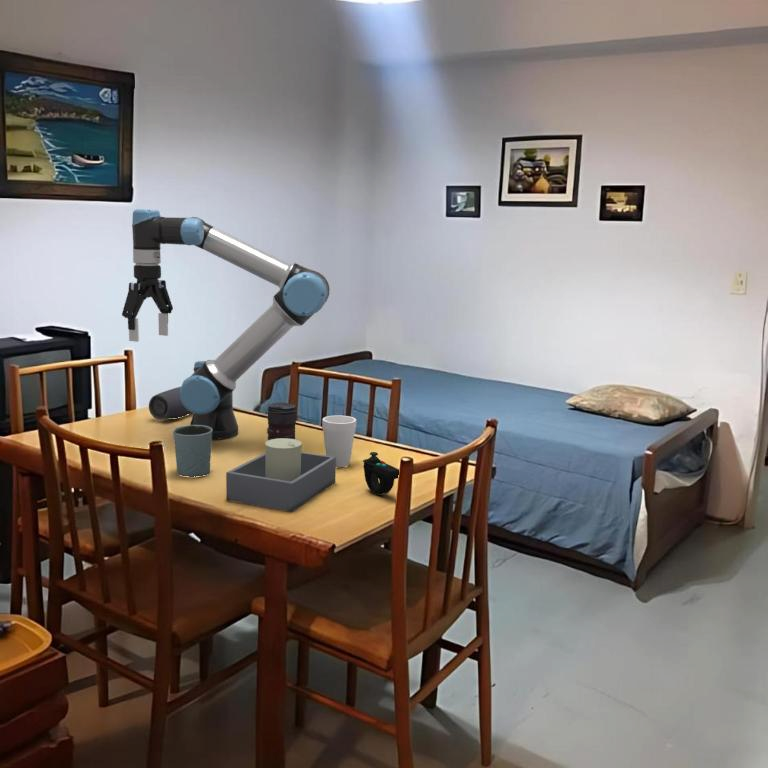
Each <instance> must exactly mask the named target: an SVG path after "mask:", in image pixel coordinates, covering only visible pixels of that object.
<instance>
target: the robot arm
mask: <svg viewBox="0 0 768 768" xmlns="http://www.w3.org/2000/svg"><path fill="white" fill-rule="evenodd" d="M160 213H161V212H160V210H159V209H146V208H145V209H141V208H140V209H139V208H137V209H134V210H133V211H132V224H131V227H132V259H133V260H132V261H133V262H132V263H134V265H133V277H134V279H136V282H129V283H128V292H127V295H126V298H125V302H124V306H123V308H122V313H121V315H122V317H124V318H125V319H127V329H128V341H130V342H135V343H136V342H137V343H138V342H139V341H140V338H139V337H140V335H139V318H137V316H138V313H140V310H141V307H142V306H143V304H144V302H145V300H147V298H148V299H149V298H152V300H153V302H154V303H155V305H156V307H157V309H158V310H159V312H160V313H158V316H157V317H158V335H159V336H165V337H168V336H169V314H172V311H173V309H174V307H173V304H172V301H171V298H170V295H169V292H168V288H167V283H166V280H164V279H161V278H162V266H161V265H160V264H161V262H162V261H161V260H162V259H161V244H162V245H180V246H181V245H183V246H185V245H186V246H195V247H197V248H199V249H201V250H204V251H206V252H208V253H210V254H211V255H214V256H217V257H218V258H220V259H222V260H224V261H226V262H228V263H230V264H232V265H234V266H236V267H238V268H239V269H243V270H244V271H246V272H247V273H249V274H250V273H251V274H252V275H254V276H256V277H258V278H260V279H262V280H263V281H266V282H268V283H270V284H273V285H275V286H277V287H278V288H279V290H278V291H277V292H276V293H275V294H274V295H273V296H272V300H273V301H272V305H270V306H269V307H268V308H267V309H266V310H265V311H264V312H263V313H262V314H261V315H260V316H259V317H257V319H256V320H255V321H254V322H253V323H252V324H251V325H250V326H249V327H247V329H245V330H244V332H242V334H240V335H239V336H238V337H237V338H236V339H235V340H234V341H233V342H232V343H231V344H230V345H228V347H227V348H226V349H225V350H224V351H223V352H221V353H220V355H219V356H218V357H216V358H215V359H207V360H202V361H201V360H199V361H195V362H194V364H193V365H194V366H193V373H192V374H191V375H190V376H188V377H187V378H186V379H184V380H183V381H182V384H181V386H180V387H181V388H180V399H181V402H182V404H183V405H184V407H185V408H186V409H187V410H189V411H190V412H192V417H191V421H190V424H189V425H204V426H208V427H211V428H212V440H213V439H215V440H223V439H224V440H225V439H229V438H230V439H231V438H234V437H236V436H238V435H239V424H238V422H237V418H236V416H235V413H234V408H233V404H234V401H233V397H234V396H233V395H234V394H233V392H234V391H235V390H236V388H237V383H236V382H237V381H238V380H239V379H240V378H241V377H242V376H243V375H244V374H246V372H247V371H249V369H250V368H251V367H252V366H253V365H254V364H256V362H257V361H259V360H260V358H262V357H263V356H264V355H265V354H266V353H268V351H270V349H271V348H272V347H274V345H276V344H277V343H278V342H279V341H280V340H281V339H282V338H283V337H284V336H285V335H286V334H287V333H289V331H290V330H291V329H292V328H293V327H302V326H303V325H304V324H306V322H307V321H308V320H309V319H311V317H313V316H314V315H315V314H317V313H318V312H319V311H321V309H322V308H323V307H324V306H325V304H326V303H327V301H328V299H329V295H330V284H329V281H328V280H327V278H326V277H325V276H324V275H323V274H321V272H318V271H315V270H313V269H311V268H307V267H304V266H303V265H300V264H298V263H296V262H292V263H288V262H286V261H284V260H283V259H280V258H278V257H276V256H273V254H269V253H268V252H266V251H264V250H262V249H260V248H258V247H255V246H253V244H250V243H247V242H245V241H244V240H241V239H239V238H237V237H236V236H234V235H232V234H229V233H227V232H225V231H224V230H221V229H219V228H218V227H215V226H212V225H211V224H209V223H207V222H206V221H205V220H203V219H201V218H199V217H197V216H195V217H194V216H192V217H170V216H169V217H165V216H161V214H160ZM213 441H214V440H213Z"/></svg>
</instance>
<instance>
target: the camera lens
mask: <svg viewBox="0 0 768 768" xmlns="http://www.w3.org/2000/svg"><path fill="white" fill-rule="evenodd" d="M296 422H297V406H296V405H295V404H293V403H290V402H273V403H270V404H269V405H268V409H267V425H268V427H267V430H266V433H267V441H268V440H272V439H278V438H288V439H295V440H296Z"/></svg>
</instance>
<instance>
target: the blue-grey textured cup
mask: <svg viewBox="0 0 768 768" xmlns="http://www.w3.org/2000/svg"><path fill="white" fill-rule="evenodd" d="M172 433H173V440H174V441H173V442H174V443H173V444H174V452H175V461H176V462H175V463H176V472H177V475H178V474H179V475H182V476H189V477H194V476H195V477H196V476H203V475H206V476H208V475H210V473H211V459H212V442H213V441H212V428H211V427H208V426H204V425H190V424H186V425H181V426H178V427H176V428H174V429H173V431H172ZM207 474H208V475H207ZM179 475H178V476H179ZM182 476H181V477H182ZM203 477H204V476H203Z"/></svg>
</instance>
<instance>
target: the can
mask: <svg viewBox="0 0 768 768" xmlns="http://www.w3.org/2000/svg"><path fill="white" fill-rule="evenodd" d="M302 445H303V443H302V441H300V440H298V439H296V438H295V439H288V438H278V439H272V440H268V439H267V441H265V442H264V446H265V447H264V449H265V452H264V453H265V477H266V478H272V479H278V480H284V481H290V482H291V481H293V480H295V479H296V478H298V477H299V476H301V452H302Z"/></svg>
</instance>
